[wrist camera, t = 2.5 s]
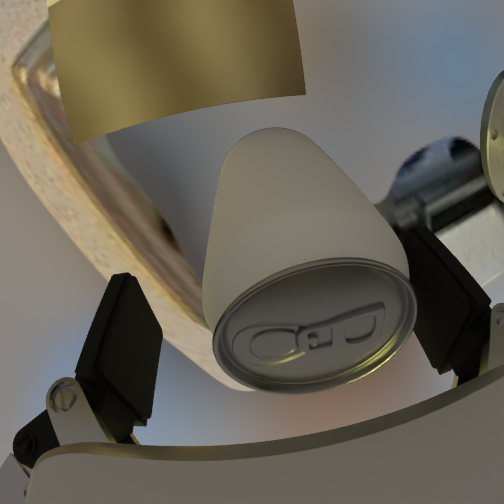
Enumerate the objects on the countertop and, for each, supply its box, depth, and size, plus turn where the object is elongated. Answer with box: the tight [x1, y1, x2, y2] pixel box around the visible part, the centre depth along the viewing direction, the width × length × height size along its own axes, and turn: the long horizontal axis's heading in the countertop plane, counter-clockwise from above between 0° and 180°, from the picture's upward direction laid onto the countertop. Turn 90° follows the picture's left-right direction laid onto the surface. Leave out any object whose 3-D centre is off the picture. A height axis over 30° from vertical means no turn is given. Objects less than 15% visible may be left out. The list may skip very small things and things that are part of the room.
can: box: [202, 128, 419, 395], centre depth 12 cm, size 6×6×12 cm
